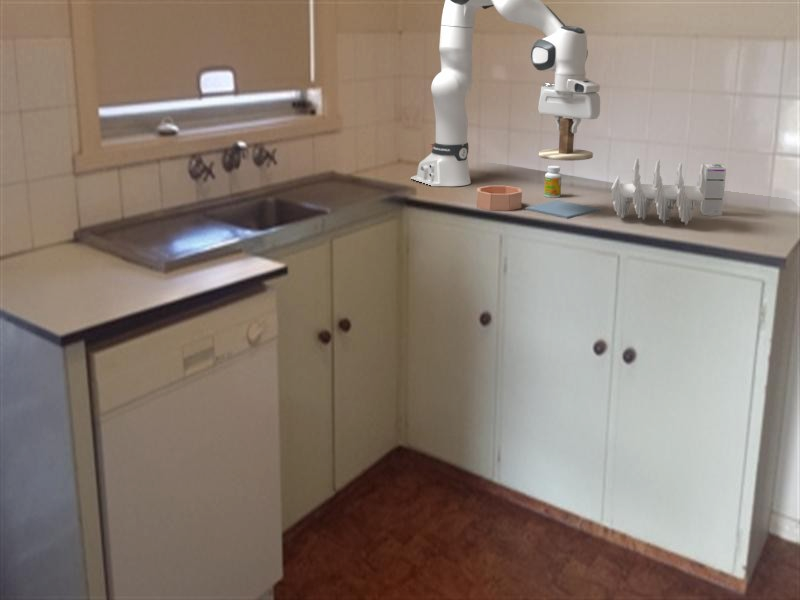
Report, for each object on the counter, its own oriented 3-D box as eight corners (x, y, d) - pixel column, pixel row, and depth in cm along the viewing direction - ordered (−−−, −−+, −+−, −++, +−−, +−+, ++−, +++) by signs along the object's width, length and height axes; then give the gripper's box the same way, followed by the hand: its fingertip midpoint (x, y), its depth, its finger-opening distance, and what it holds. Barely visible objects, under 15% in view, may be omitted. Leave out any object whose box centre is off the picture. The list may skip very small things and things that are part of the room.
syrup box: (722, 216, 257) (727, 167, 253) (701, 215, 259) (706, 166, 254) (719, 211, 263) (724, 164, 258) (698, 211, 264) (704, 163, 259)
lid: (527, 156, 261) (529, 118, 257) (560, 150, 271) (562, 114, 267) (570, 162, 250) (572, 123, 246) (603, 156, 260) (606, 118, 256)
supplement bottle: (541, 196, 284) (543, 167, 281) (546, 193, 288) (548, 164, 285) (557, 198, 282) (559, 168, 278) (562, 195, 286) (564, 166, 283)
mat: (525, 209, 266) (525, 207, 266) (557, 202, 276) (557, 200, 276) (567, 218, 255) (567, 216, 255) (599, 210, 265) (599, 208, 265)
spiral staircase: (617, 226, 262) (703, 231, 251) (605, 212, 246) (697, 216, 235) (624, 168, 264) (711, 170, 253) (613, 150, 248) (704, 151, 237)
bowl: (467, 205, 272) (468, 189, 270) (496, 199, 280) (497, 183, 279) (500, 212, 262) (501, 196, 260) (529, 206, 271) (530, 190, 269)
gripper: (534, 83, 259) (532, 129, 263) (591, 87, 245) (588, 136, 249) (548, 81, 263) (546, 127, 267) (604, 85, 249) (601, 134, 253)
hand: (566, 132), depth 258 cm, fingers closed on lid, 3 cm apart
